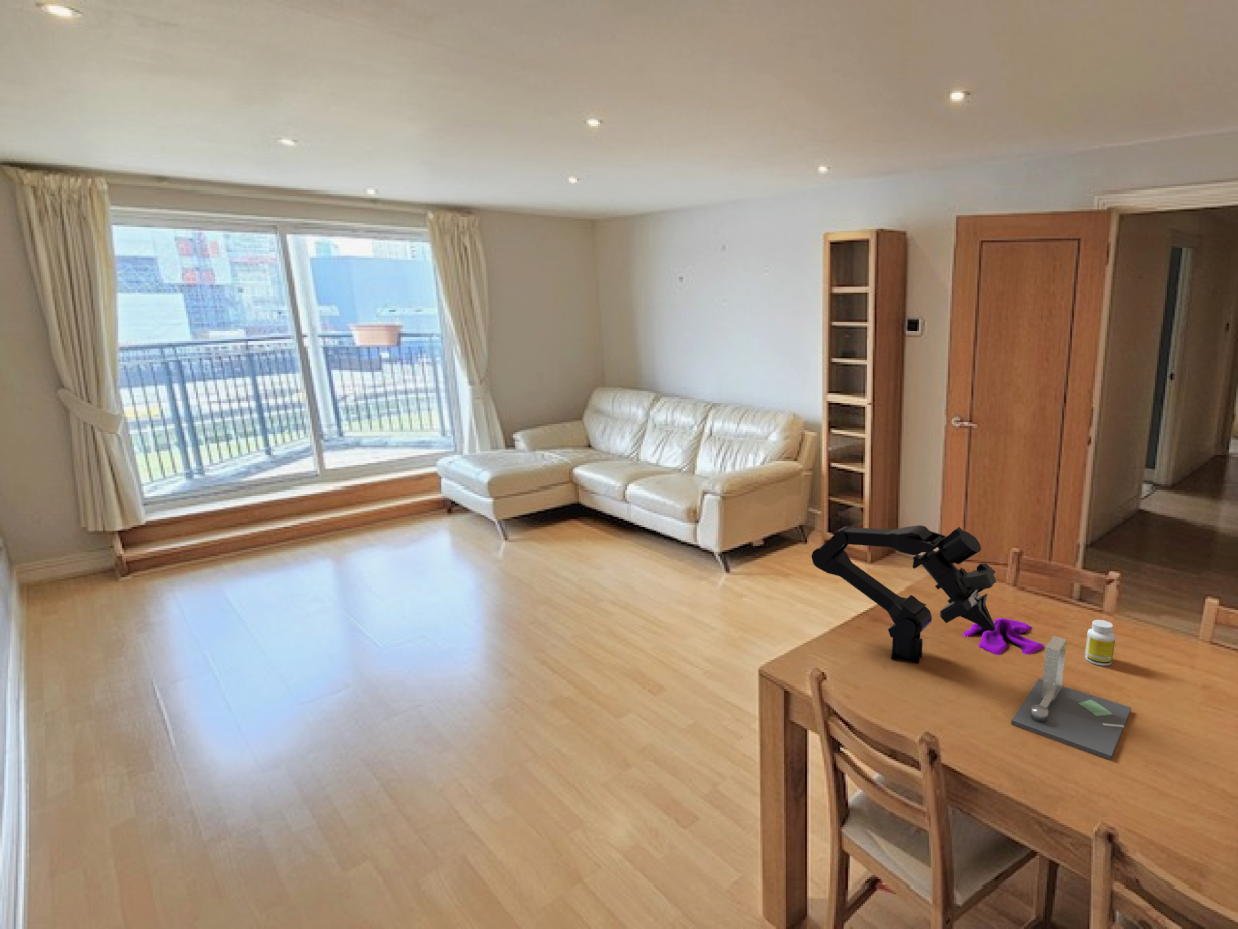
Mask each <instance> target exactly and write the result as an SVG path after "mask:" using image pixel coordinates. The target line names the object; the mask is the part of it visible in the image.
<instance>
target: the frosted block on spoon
mask: <svg viewBox="0 0 1238 929" xmlns="http://www.w3.org/2000/svg"><path fill="white" fill-rule="evenodd" d="M1066 648H1067V638H1063V637H1060V636H1056V635H1053V636H1052V637H1051V639H1050V640H1049V642H1048V643H1047V644H1046V646H1045V652H1044V663H1043V673H1042V680H1043V682H1042V693H1041V697H1043V700H1042V701H1041V703H1040V705H1033V706H1032V707H1031V718H1033V719H1034V720H1036V721H1039V722H1046V721H1047V720H1048V708H1049V707H1050V705H1051V703H1052V702H1053V701H1054V700H1055V699H1056V697H1057V695H1058V693H1059V692H1060V690H1061V688H1062V686H1063V677H1064V667H1065V658H1066Z"/></svg>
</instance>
